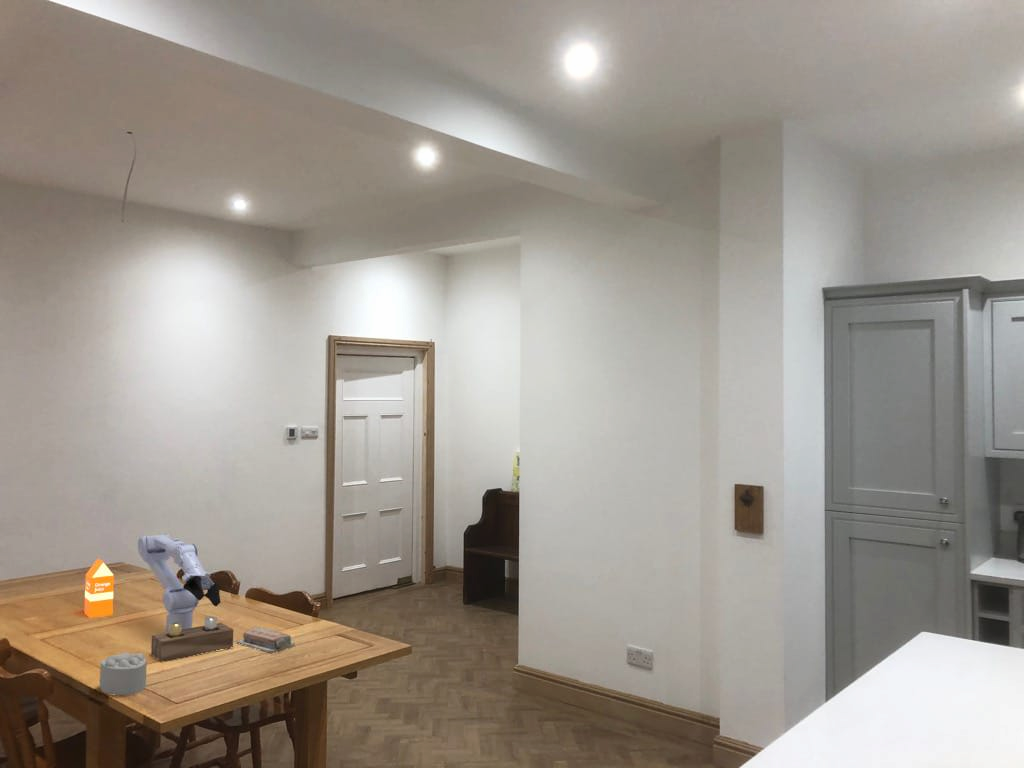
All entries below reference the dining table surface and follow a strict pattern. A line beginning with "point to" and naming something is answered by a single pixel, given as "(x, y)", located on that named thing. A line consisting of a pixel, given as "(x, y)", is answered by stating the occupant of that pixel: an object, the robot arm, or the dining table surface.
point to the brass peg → (175, 630)
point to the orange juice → (99, 590)
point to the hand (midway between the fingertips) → (209, 601)
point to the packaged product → (266, 639)
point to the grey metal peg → (210, 624)
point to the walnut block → (191, 642)
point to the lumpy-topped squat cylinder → (123, 674)
